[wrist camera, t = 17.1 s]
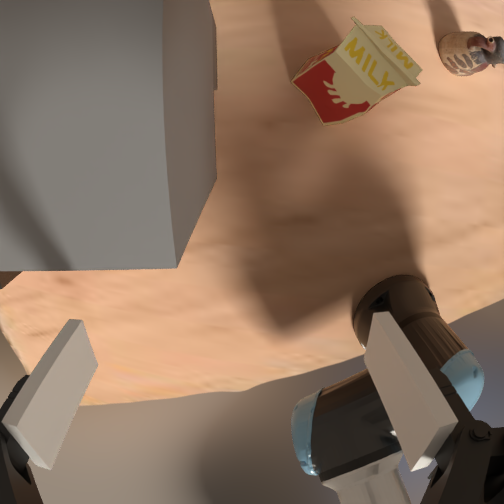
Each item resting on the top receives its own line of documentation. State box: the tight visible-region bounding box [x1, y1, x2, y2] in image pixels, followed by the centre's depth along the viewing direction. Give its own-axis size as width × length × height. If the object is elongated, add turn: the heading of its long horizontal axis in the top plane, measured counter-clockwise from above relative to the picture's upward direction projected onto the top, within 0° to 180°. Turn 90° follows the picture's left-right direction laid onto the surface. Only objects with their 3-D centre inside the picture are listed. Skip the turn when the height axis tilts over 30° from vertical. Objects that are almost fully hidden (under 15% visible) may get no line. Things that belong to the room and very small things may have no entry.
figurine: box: [439, 32, 504, 76], centre depth 29 cm, size 7×7×12 cm
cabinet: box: [0, 0, 217, 271], centre depth 24 cm, size 22×28×30 cm
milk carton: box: [291, 17, 422, 126], centre depth 28 cm, size 9×9×20 cm
